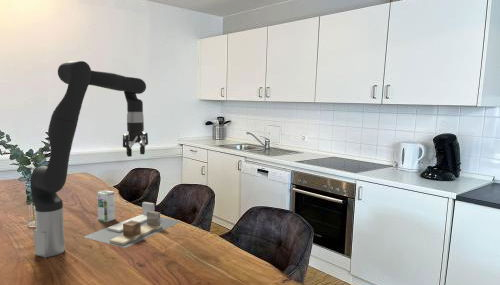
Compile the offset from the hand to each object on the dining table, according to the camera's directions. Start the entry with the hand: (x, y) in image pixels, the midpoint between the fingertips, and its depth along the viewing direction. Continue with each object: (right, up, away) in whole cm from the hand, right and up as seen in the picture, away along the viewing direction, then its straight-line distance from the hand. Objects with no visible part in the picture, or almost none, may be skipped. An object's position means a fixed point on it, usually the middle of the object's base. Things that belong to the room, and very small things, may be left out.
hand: (136, 155), depth 177 cm
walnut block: (+5, -33, -20) cm, 39 cm away
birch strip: (+6, -34, -17) cm, 38 cm away
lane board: (+3, -34, -10) cm, 35 cm away
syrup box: (-15, -32, +2) cm, 35 cm away
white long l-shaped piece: (0, -32, -3) cm, 32 cm away
